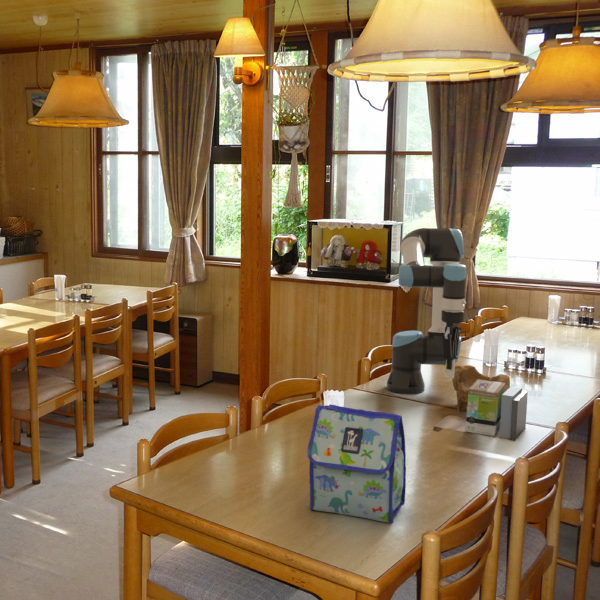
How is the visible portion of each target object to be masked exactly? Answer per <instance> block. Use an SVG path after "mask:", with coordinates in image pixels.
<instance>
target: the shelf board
mask: <svg viewBox="0 0 600 600" xmlns="http://www.w3.org/2000/svg"><path fill="white" fill-rule="evenodd" d="M443 429H445V430H451V431H455V432H456V431H457V432H463V433H468V434H473V435H479V436H484V437H489V438H495V439H500V440H504V441H505V440H506V441H512V442H516V441H517V439H516V440H512V439H509V438H504V437H500V428H499V430H498V431H497V433H496V434H495V435H494V436H490V435H484V434H477V433H471V432H466V431H465V429H466V417H463V416H458V415H452V414H448V415H446V416H444V418H442V419H441V420H440V421H439V422H437V423H436V424H434V426H433V430H437V431H440V432H441V431H442V430H443ZM526 429H527V428H526V427H525V430H526ZM522 434H523V432H522V433H521V435H522Z"/></svg>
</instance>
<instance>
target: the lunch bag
mask: <svg viewBox="0 0 600 600" xmlns="http://www.w3.org/2000/svg"><path fill="white" fill-rule="evenodd" d="M309 437H310V438H309V440H308V444H307V445H308V446H307V452H306V453H307V454H306V455H307V458H308V460H309V468H308V470H309V471H308V472H309V473H308V475H309V509H310V510H311V511H318V512H324V513H325V512H326V513H334V514H339V515H345V516H351V517H358V518H363V519H369V520H372V521H379V522H383V523H388V524H393V523H394V518H395V517H396V515H397V514H398V512H399V510H400V509H401V507H402V506H404V505H405V502H406V488H407V487H406V485H407V484H406V483H407V482H406V480H407V479H406V478H407V477H406V475H407V466H406V465H407V463H406V440H405V439H406V438H405V429H404V423H403V415H399V414H397V413H392V412H391V413H390V412H386V411H385V412H382V411H372V410H366V409H360V408H359V409H358V408H351V407H346V406H339V405H336V404H331V403H330V404H329V405H321V404H320V405H318V406H316V407H315V414H314V417H313V424H312V429H311V433H310V436H309Z"/></svg>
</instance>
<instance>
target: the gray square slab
mask: <svg viewBox="0 0 600 600" xmlns="http://www.w3.org/2000/svg"><path fill="white" fill-rule="evenodd" d="M528 394H529V392H528V390H523V389H522V391H521V392H520V393H519V394H518V395H517V396H516V397H515V398H514V399H513V400H512V414H511V431H510V439H512V440H516V441H517V440H518V438H520V436H521V435H522V434H523V432H525V430H526V429H525V428H526V425H527V423H526V422H527V410H528V409H527V408H528V407H527V406H528ZM521 433H522V434H521Z"/></svg>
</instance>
